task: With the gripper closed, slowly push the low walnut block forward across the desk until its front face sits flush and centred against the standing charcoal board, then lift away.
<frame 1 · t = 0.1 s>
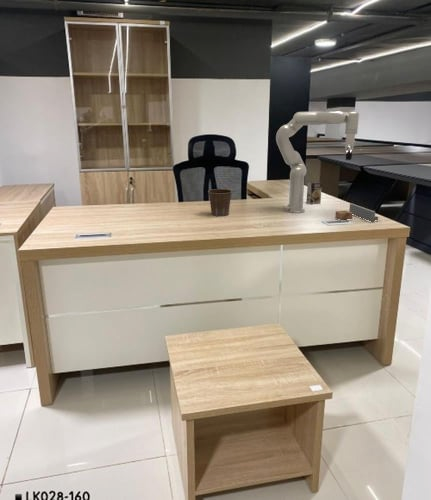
hand: (348, 159, 278), 37 cm above the table, tool pointing down, fingers open, 9 cm apart
walnut block: (343, 219, 277), on the table
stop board: (361, 217, 280), on the table
coffee box: (313, 203, 326), on the table
plant pot: (220, 214, 291), on the table
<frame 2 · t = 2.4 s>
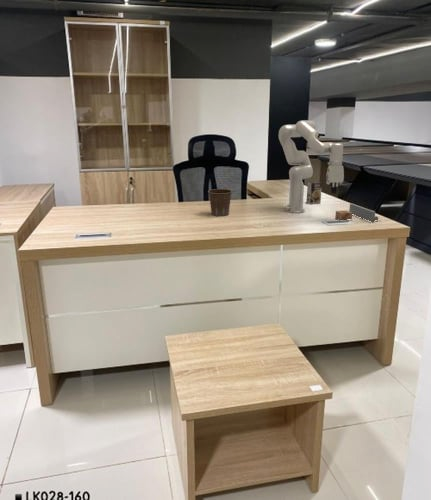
hand: (333, 193, 269), 18 cm above the table, tool pointing down, fingers closed
nothing on the table moved.
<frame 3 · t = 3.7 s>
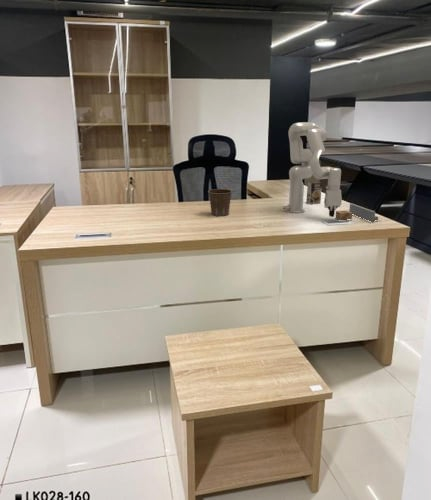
hand: (331, 216, 274), 2 cm above the table, tool pointing down, fingers closed
nothing on the table moved.
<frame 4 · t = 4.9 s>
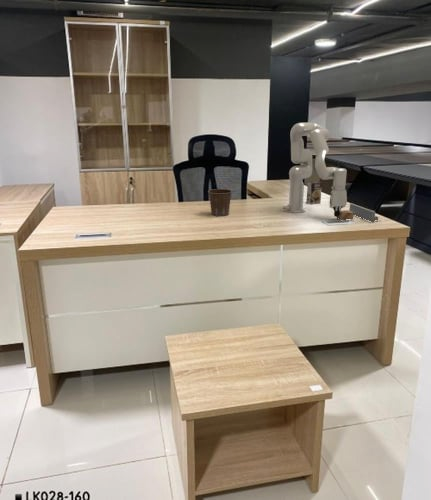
hand: (336, 216, 275), 2 cm above the table, tool pointing down, fingers closed
walnut block: (344, 219, 277), on the table
everything else where it was.
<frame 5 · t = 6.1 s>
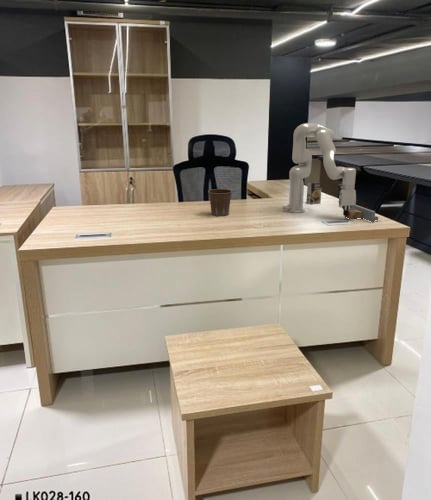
hand: (345, 215, 276), 2 cm above the table, tool pointing down, fingers closed
walnut block: (352, 218, 279), on the table, touching gripper
everything else where it was.
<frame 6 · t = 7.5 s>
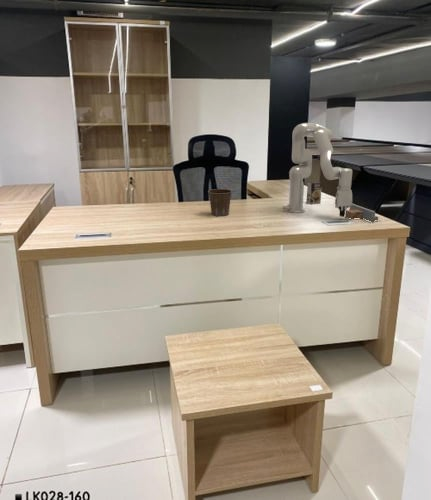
hand: (341, 216, 276), 2 cm above the table, tool pointing down, fingers closed
walnut block: (353, 218, 280), on the table
everything else where it was.
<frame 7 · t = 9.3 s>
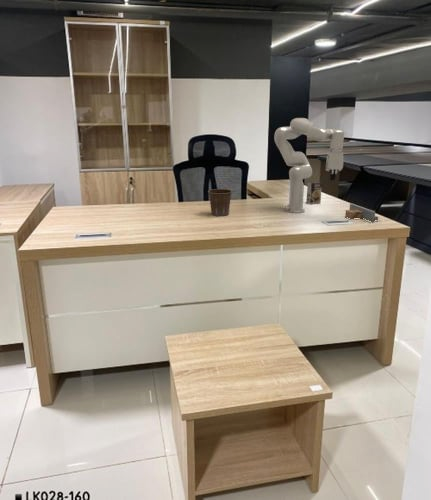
hand: (332, 179, 271), 25 cm above the table, tool pointing down, fingers closed
nothing on the table moved.
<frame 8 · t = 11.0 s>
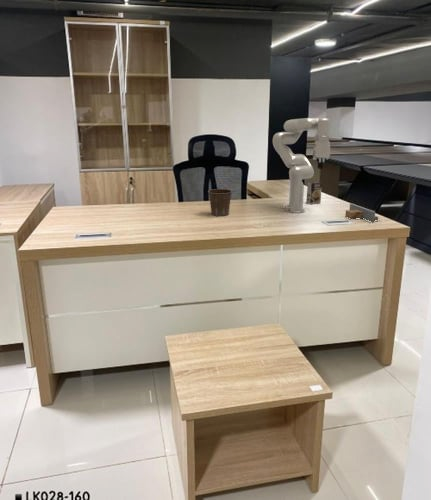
hand: (320, 168, 271), 32 cm above the table, tool pointing down, fingers closed
nothing on the table moved.
at the end: walnut block 1.0 cm from the target spot on the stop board, point 0.0 cm above the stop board's base; walnut block tilted 0° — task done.
